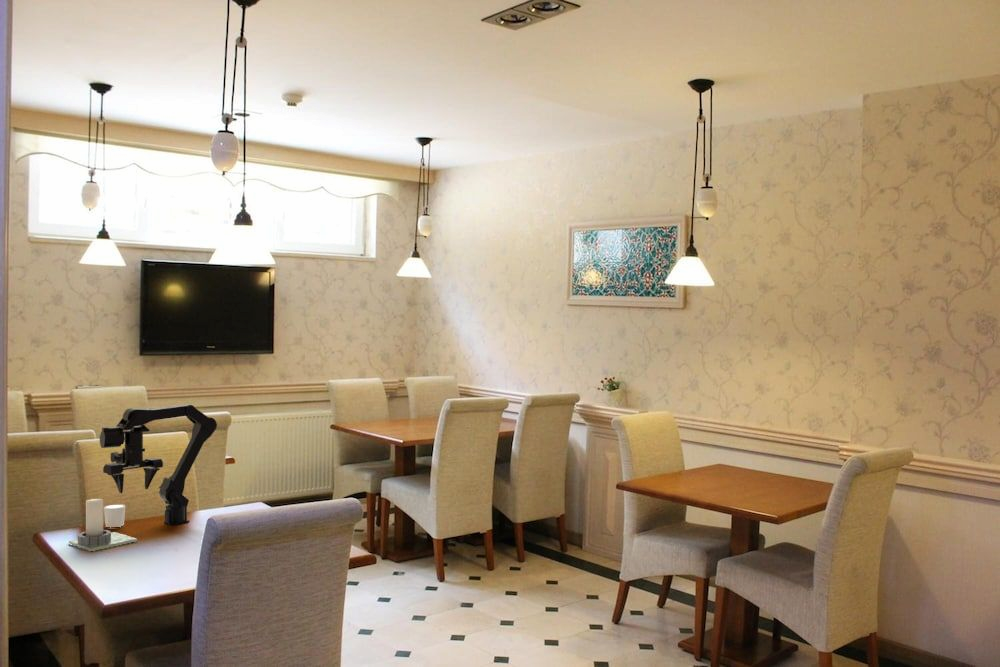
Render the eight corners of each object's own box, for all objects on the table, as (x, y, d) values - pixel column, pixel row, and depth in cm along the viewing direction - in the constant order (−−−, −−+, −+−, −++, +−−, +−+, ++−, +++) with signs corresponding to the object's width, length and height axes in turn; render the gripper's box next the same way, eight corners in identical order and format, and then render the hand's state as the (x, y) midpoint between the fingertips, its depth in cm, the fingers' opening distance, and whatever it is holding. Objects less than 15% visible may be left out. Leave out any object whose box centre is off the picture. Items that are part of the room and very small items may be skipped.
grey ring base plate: (114, 534, 282) (114, 524, 282) (136, 541, 274) (136, 530, 274) (68, 544, 271) (68, 533, 270) (90, 551, 262) (90, 540, 262)
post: (102, 538, 274) (102, 498, 274) (103, 542, 270) (103, 501, 270) (85, 540, 272) (85, 499, 272) (86, 543, 267) (86, 502, 267)
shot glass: (119, 528, 290) (119, 508, 290) (100, 528, 291) (99, 508, 290) (129, 524, 297) (129, 504, 297) (109, 523, 297) (109, 503, 297)
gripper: (146, 440, 302) (146, 484, 302) (94, 446, 287) (94, 492, 287) (164, 443, 295) (164, 488, 295) (112, 449, 280) (112, 496, 280)
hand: (133, 491), depth 290 cm, fingers open, 9 cm apart
